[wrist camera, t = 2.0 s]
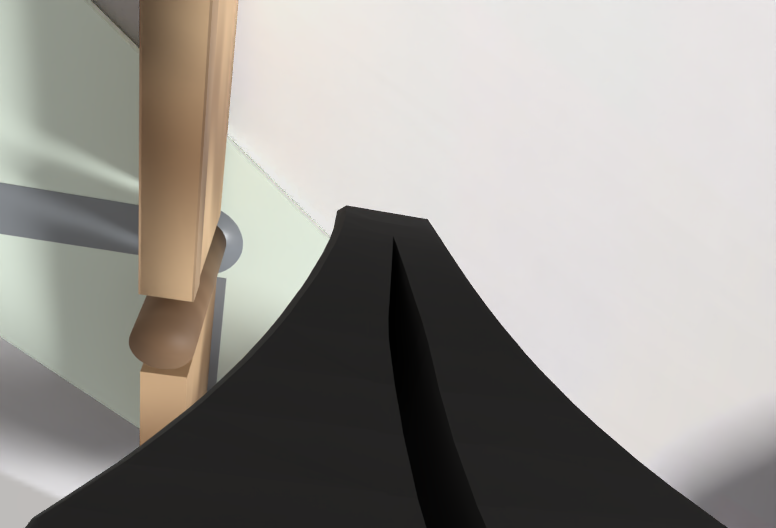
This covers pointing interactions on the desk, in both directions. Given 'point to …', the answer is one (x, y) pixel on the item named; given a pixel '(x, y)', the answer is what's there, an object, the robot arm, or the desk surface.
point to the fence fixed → (175, 347)
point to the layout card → (113, 210)
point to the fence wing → (181, 137)
